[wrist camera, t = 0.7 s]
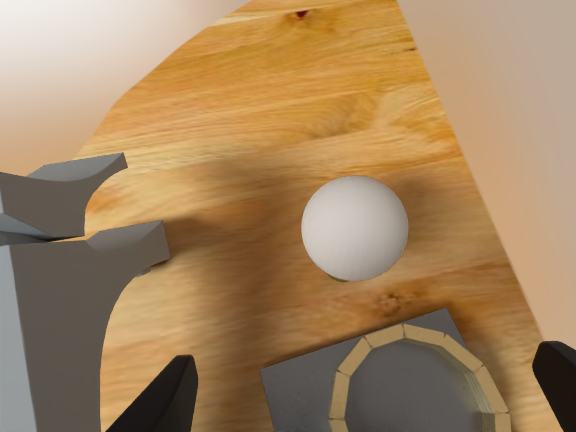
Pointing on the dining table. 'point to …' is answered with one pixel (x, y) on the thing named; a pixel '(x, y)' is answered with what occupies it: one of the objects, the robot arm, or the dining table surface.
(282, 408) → the plate
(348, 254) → the light bulb
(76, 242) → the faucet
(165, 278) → the dining table surface
